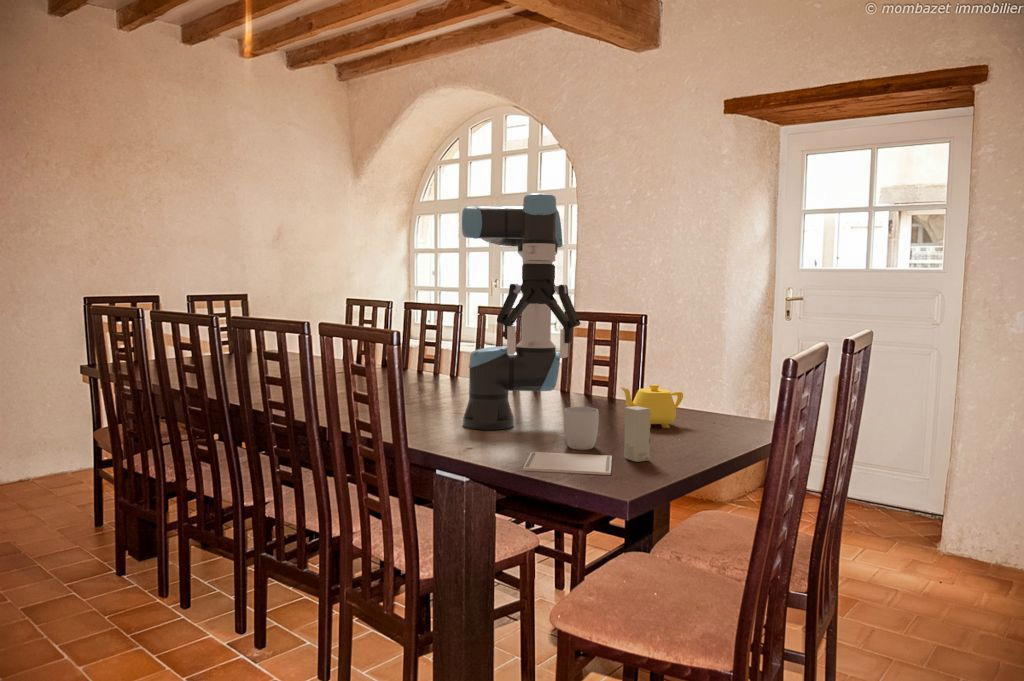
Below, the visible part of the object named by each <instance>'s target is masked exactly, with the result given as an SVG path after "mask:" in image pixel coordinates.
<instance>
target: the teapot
mask: <svg viewBox="0 0 1024 681" xmlns="http://www.w3.org/2000/svg"><path fill="white" fill-rule="evenodd" d="M619 388H620V389H621V390H622V391H623V392H624V396H625V405H626V407H633V406H639V407H644V408H649V409H650V429H652V428H651V427H652V425H661V428H663V429H670V428H671V426H670V424H673V423H674V421H675V419H677V418H676V417H677V408H678V407H679V405H680V404H681V403H682V401H683V398H684V393H683V391H672V392H670V391H669V390H667V389H664V388H660V385H659V384H655V383H653V384H649V387H648V388H639V389H638V390H637V392H636V394H635V396H634V399H633V400H632V397H631V396H632V395H631V391H630V390H629V388H626V387H622V386H619ZM673 396H677V398H676V400H675V401H674V399H673Z"/></svg>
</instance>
